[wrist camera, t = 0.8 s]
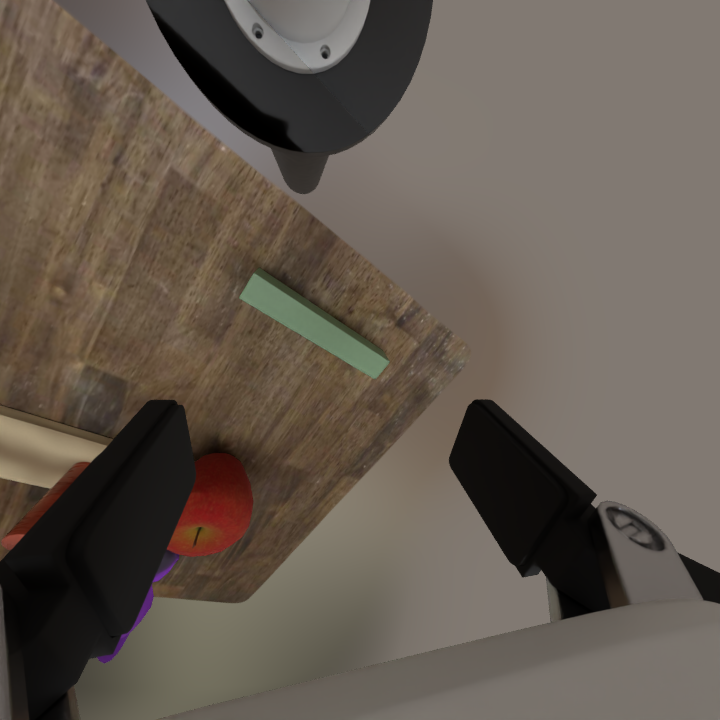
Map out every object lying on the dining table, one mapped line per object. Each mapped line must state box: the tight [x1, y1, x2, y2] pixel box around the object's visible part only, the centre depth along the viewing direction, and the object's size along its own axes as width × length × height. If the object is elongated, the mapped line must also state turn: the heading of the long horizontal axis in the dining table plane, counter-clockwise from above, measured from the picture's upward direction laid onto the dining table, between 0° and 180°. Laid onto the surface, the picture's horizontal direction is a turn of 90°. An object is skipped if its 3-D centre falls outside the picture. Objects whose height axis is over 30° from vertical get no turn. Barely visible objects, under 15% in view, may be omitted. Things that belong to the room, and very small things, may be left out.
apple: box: [167, 453, 253, 557], centre depth 34 cm, size 11×11×12 cm
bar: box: [239, 268, 390, 379], centre depth 31 cm, size 3×18×4 cm, turn 52°
